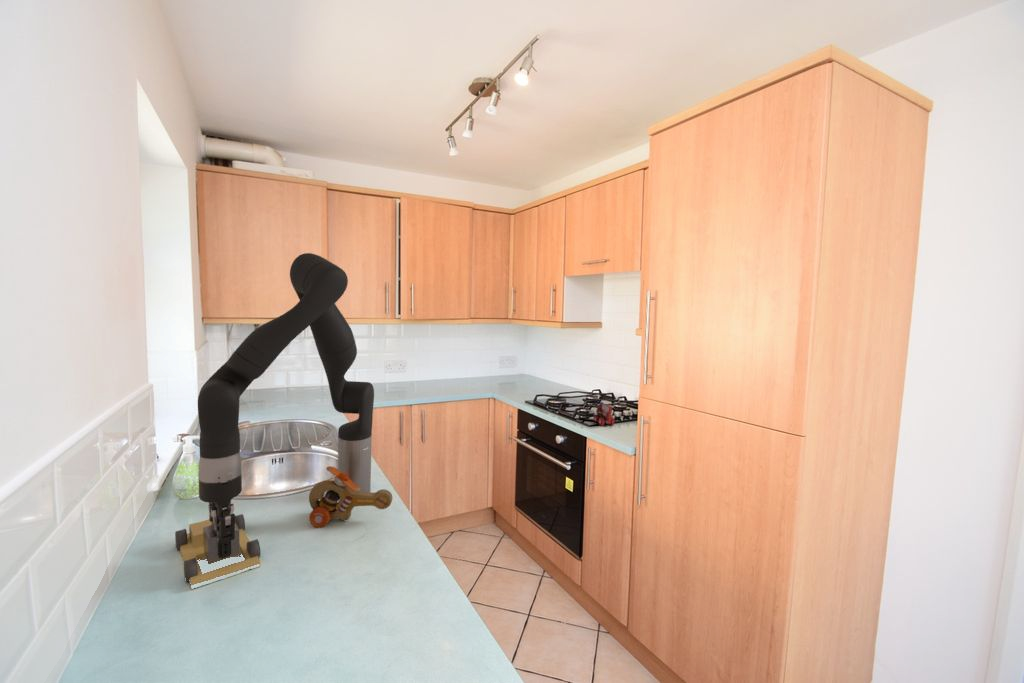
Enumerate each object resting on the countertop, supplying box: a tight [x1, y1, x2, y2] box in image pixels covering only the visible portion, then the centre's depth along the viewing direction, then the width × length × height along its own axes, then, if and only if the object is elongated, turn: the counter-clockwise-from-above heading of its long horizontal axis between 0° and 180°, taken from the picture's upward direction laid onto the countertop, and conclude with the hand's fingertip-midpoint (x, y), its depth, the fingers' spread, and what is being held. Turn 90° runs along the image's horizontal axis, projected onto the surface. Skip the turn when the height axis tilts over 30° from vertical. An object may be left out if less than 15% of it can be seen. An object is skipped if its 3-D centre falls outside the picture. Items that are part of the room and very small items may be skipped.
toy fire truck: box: [593, 401, 615, 427], centre depth 217 cm, size 7×12×10 cm, turn 17°
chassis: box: [174, 513, 261, 585], centre depth 98 cm, size 21×13×4 cm, turn 43°
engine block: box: [203, 523, 240, 564], centre depth 94 cm, size 6×6×6 cm
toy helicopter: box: [308, 465, 394, 528], centre depth 115 cm, size 8×21×14 cm, turn 95°
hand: (221, 549), depth 94 cm, fingers closed on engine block, 5 cm apart
